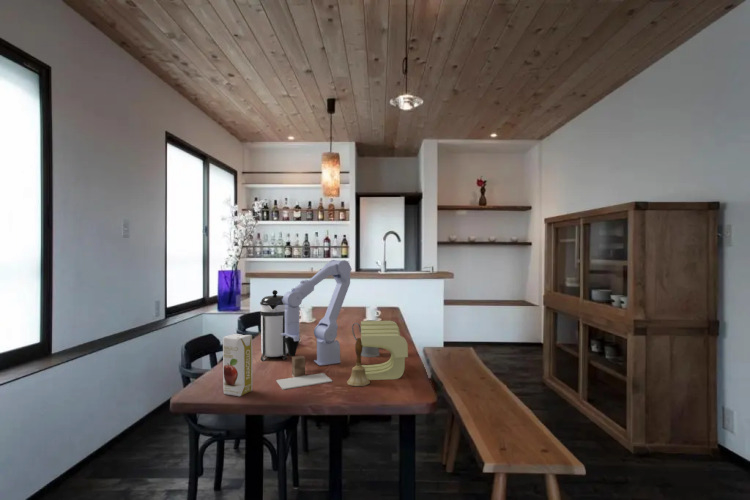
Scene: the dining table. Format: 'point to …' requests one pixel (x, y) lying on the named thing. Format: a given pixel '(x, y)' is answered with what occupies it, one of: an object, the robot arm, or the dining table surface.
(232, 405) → the dining table surface
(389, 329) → the slatted curved stool
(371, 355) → the glass holder
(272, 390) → the dining table surface
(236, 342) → the juice carton
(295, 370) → the walnut block
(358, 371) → the hand bell
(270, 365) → the dining table surface
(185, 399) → the dining table surface
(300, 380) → the felt mat
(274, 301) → the coffee press
